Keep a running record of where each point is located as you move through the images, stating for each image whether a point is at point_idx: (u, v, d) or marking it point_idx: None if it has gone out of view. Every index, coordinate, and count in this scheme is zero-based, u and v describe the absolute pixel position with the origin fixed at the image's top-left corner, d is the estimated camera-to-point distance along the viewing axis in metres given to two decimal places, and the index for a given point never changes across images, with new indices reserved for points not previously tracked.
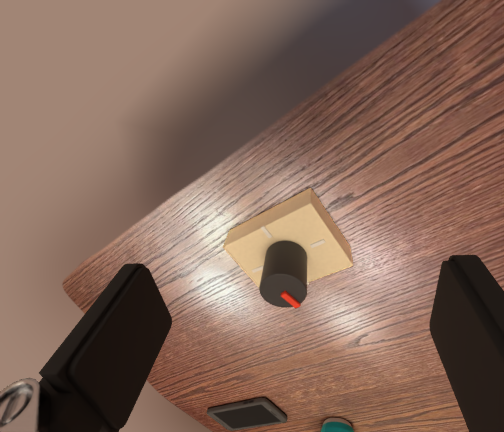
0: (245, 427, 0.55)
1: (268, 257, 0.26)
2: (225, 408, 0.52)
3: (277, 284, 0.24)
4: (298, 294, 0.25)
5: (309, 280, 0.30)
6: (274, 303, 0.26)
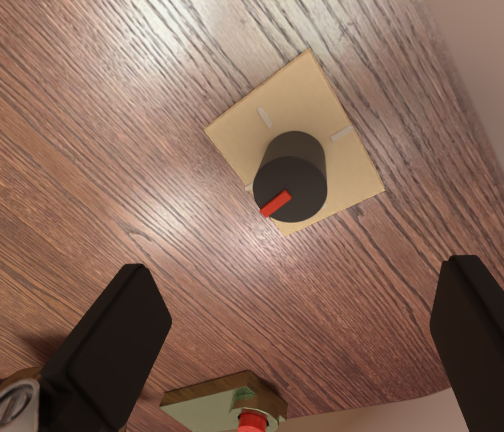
0: None
1: (315, 147, 0.17)
2: None
3: (304, 185, 0.15)
4: (285, 213, 0.16)
5: (252, 190, 0.21)
6: (259, 178, 0.16)
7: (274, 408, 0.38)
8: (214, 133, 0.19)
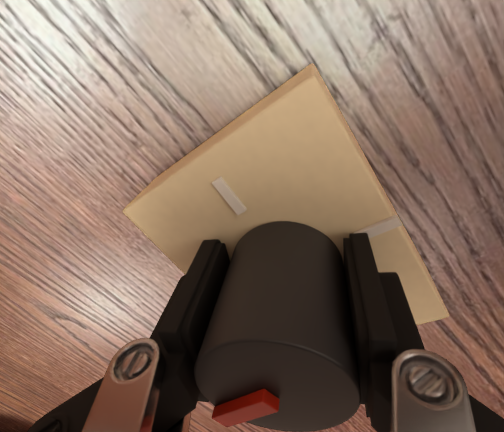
0: None
1: (328, 270, 0.08)
2: None
3: (307, 387, 0.07)
4: (267, 418, 0.08)
5: None
6: (205, 366, 0.07)
7: None
8: (141, 217, 0.11)
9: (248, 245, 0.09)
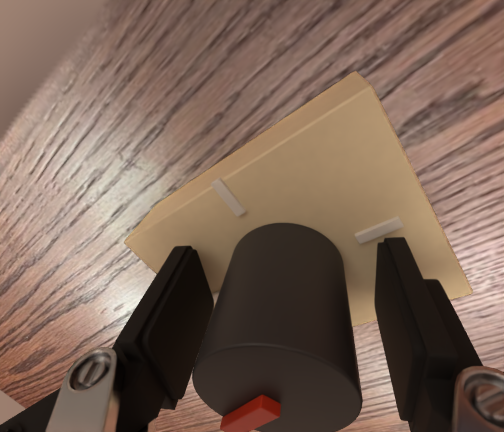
0: None
1: (318, 266, 0.08)
2: None
3: (303, 389, 0.06)
4: (276, 424, 0.08)
5: None
6: (201, 377, 0.07)
7: None
8: None
9: (240, 252, 0.09)
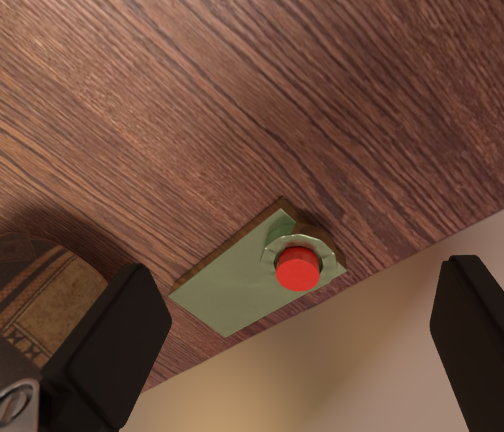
0: None
1: None
2: None
3: None
4: None
5: None
6: None
7: (327, 238, 0.25)
8: None
9: None
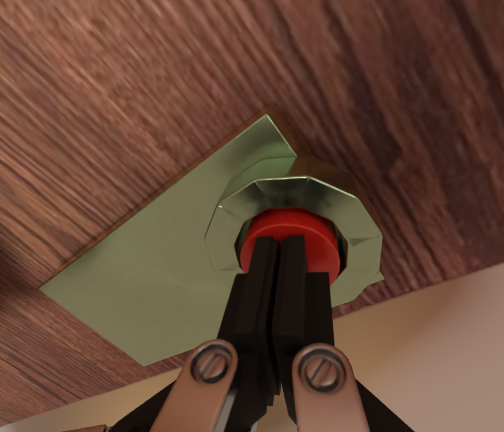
0: None
1: None
2: None
3: None
4: None
5: None
6: None
7: (367, 201, 0.11)
8: None
9: None
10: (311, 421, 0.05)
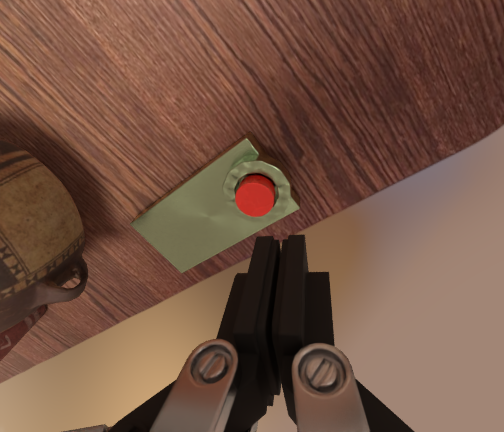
0: None
1: None
2: None
3: None
4: None
5: None
6: None
7: (285, 171, 0.28)
8: None
9: None
10: (311, 421, 0.05)
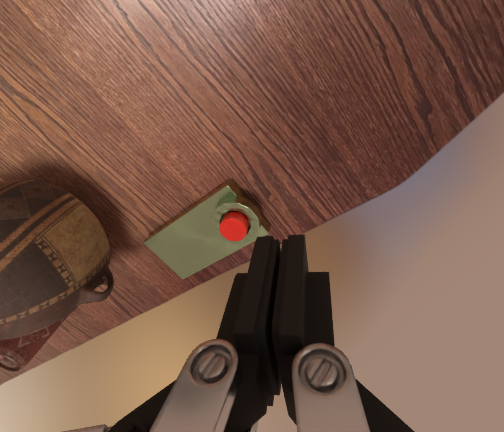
0: None
1: None
2: None
3: None
4: None
5: None
6: None
7: (255, 208, 0.38)
8: None
9: None
10: (311, 421, 0.05)
